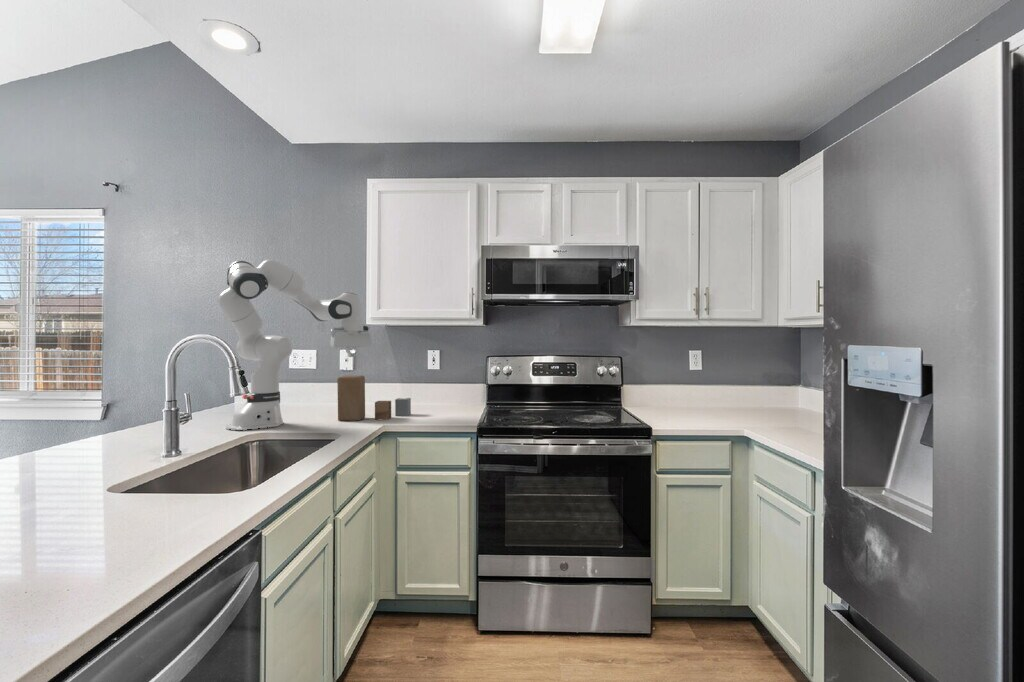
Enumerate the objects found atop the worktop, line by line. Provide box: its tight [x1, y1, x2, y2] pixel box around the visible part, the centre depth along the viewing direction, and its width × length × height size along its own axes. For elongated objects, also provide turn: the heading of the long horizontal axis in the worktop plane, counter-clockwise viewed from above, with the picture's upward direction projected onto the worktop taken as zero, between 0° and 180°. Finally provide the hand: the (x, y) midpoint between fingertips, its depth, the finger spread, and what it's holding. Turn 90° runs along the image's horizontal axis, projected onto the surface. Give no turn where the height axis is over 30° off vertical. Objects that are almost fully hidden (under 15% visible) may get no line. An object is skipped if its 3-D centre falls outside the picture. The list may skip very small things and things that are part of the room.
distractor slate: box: [394, 397, 412, 417], centre depth 250 cm, size 6×6×8 cm
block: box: [336, 374, 366, 422], centre depth 238 cm, size 10×10×20 cm
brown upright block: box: [374, 400, 392, 421], centre depth 240 cm, size 6×6×8 cm
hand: (351, 356), depth 243 cm, fingers closed
